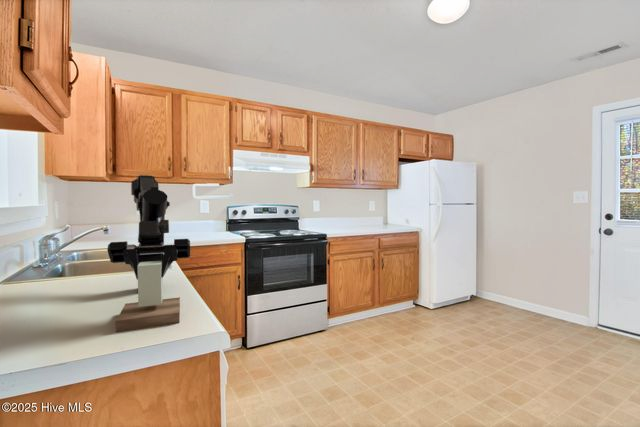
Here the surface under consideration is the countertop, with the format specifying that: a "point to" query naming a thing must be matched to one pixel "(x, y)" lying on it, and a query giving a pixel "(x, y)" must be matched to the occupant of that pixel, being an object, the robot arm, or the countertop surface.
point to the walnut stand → (148, 315)
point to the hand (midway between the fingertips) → (150, 277)
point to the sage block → (150, 283)
